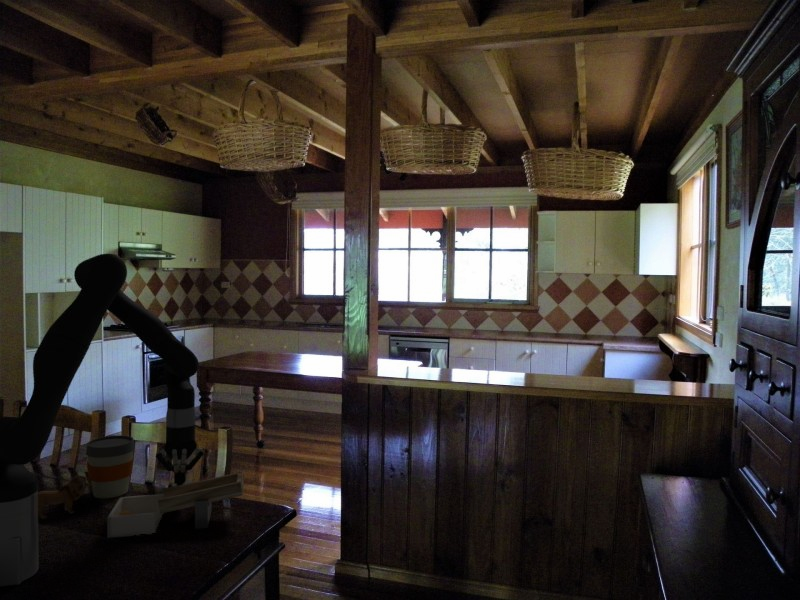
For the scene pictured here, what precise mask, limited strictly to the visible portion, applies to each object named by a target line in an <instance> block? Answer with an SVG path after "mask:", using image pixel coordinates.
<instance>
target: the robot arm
mask: <svg viewBox="0 0 800 600" xmlns="http://www.w3.org/2000/svg"><path fill="white" fill-rule="evenodd" d="M73 273H74V275H73V277H74V280H75V283H76V285H77V286H78V287H79V288H80V290H79V292H78V294H77V295H76V296H75V299H74V300H73V301H72V302H71V303H70V305H69V306H67V308H65V310H64V311H63V312H62V313H61V314H60V315H59V316H58V318H56V320H55V321H54V322H53V323H52V324H51V325H50V327H49V328H48V330H47V331H46V333H45V334H44V336H43V338H42V339H41V342H40V343H39V345H38V347H37V348H36V350H35V353H34V356H33V360H32V374H33V375H32V377H33V389H32V393H31V396H30V399H29V401H28V403H27V405H26V407H25V409H24V410H23V412H22V414H21V415H20V417H17V416H0V587H8V586H17V585H21V584H22V582H24V581H26V580H28V579H30V578H32V577H33V576H35V574H36V573H38V571H39V568H40V567H39V565H40V564H39V515H38V492H39V480H38V477H37V475H35V474H34V473H33V472H31V471H30V469H27V467H26V466H25V465H28V464H29V463H31V462H33V461H35V460H36V459H37V458H38V457H39V456H40V454H41V453H42V452H43V450H44V448H45V447H46V445H47V442H48V441H49V438H50V435H51V433H52V429H53V427H54V425H55V423H56V420H57V418H58V417H57V416H58V414H59V412H60V409H61V407H62V403H63V401H64V399H65V397H66V395H67V393H68V390H69V388H70V386H71V384H72V382H73V379H74V377H75V375H76V374H77V372H78V370H79V368H80V367H81V365H82V363H83V360H84V358H85V357H86V355H87V352H88V351H89V349H90V346H91V344H92V342H93V340H94V338H95V336H96V334H97V331H98V330H99V327H100V325H101V323H102V321H103V319H104V317H105V315H106V312H107V311H108V312H110V313H111V314H112V315H113V316H115V317H116V318H117V319H118V320H119V321H121V322H122V323H123V324H124V325H125V326H126V327H127V328H128V329H129V330H131V332H132V333H134V334H135V335H136V337H137V338H138V339H139V340H140V341H141V342H142V343H143V345H144V346H146V347H147V348H148V350H149V351H150V352H151V353H152V354H154V355H156V356H157V357H159V358H160V359H161V360H162V361H163V362H164V364H163V365H164V366H163V369H164V378H165V385H166V388H167V396H166V397H167V401H166V403H167V404H166V405H167V406H166V407H167V408H166V416H165V417H166V418H165V444H164V446H163V448H162V449H161V450H158V451H157V453H156V454H155V457H156V459H157V460H158V461H159V462H160V463H161V465H162V466H163V467H164V468H165V469H166V470H167V472H173V478H174V479H173V484H177V486H178V485H183V483H185V482H186V481H187V471H191V470H192V469H193V468H194V467H195V465H196V464H197V463H198V462H199V461H200V459H201V458H202V457H203V456H204V454H205V449H203V448H200V447H198V444H197V442H196V421H197V418H196V407H195V405H196V403H195V400H196V397H195V396H196V395H195V393H196V391H195V388H194V386H193V385H192V384H191V377H193V376H194V375H196V373H197V372H198V370H199V367H200V364H199V363H200V362H199V360H198V357H197V356H196V354H195V353H194V352H193V351H192V350H191V349H189V347H188V346H186V345H185V343H183V342H182V341H180V340H179V339H178V338H177V337H176V336H175V335H174V333H173V332H172V331H171V330H170V329H169V328H168V326H167V325H166V324H165V323H164V322H163V321H162V320H161V319H160V318H159V317H158V316H157V315H156V314H154V313H153V312H151V311H150V310H148V309H147V308H145V307H143V306H141V305H140V304H139V303H137V302H136V301H134V300H133V299H131V298H130V297H129V296H128V295H127V294H126V293H124V291H122V288H123V286H124V285H125V282H126V280H127V278H128V277H127V276H128V268H127V265H126V263H125V261H124V259H122V257H121V256H119V255H117V254H114V253H102V254H97V255H95V256H92V257H90V258H88V259H87V258H86V259H85V260H83V261H81V262H80V263H79V264H77V265H76V267H75V269H74V272H73ZM193 453H194V457H193V458H192V459H191V460H190V462H189V463H188V459H189V458H190V457H191V455H193ZM167 455H168V457H169V458H170V459H171V460H172V462H171V460H170V459H168V457H167ZM187 463H188V464H187Z"/></svg>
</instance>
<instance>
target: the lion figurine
mask: <svg viewBox="0 0 800 600" xmlns="http://www.w3.org/2000/svg"><path fill="white" fill-rule="evenodd" d="M87 485H88V484H87V477H86V476H84V475H80V474H79V475H76V476H74V477H72V478H71V480H70V481H68V482H67V483H66V484H64V485H63V486H62V487H61V488H59V489H57V490H42V491H38V517H40V519H42V520H46V519H47V518H48V515H44V514H43V511H44V508H45V505H46V504H50V505H60V504H63V503H64V508H63V509H64V510H65V511H67V512H68V514H72V513H73V514H75V511H74V510H72V508H73V502H74V501H77V500H79V499H80V498H81V496H82V495H83V494H84V493H85V492H86V489H87Z"/></svg>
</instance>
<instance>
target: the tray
mask: <svg viewBox="0 0 800 600" xmlns="http://www.w3.org/2000/svg"><path fill="white" fill-rule="evenodd" d="M161 498H164V493H160V494H159V493H158V494H147V495H144V494H143V495H134V496H133V495H131V496H119V499H118V500H117V502H116V504H115V505H114V507H113V508H112V510H111V511H110V513H109V515H108V516H107V519H106V520H107V521H106V523H107V531H106V532H107V537H106V538H107V539H110V538H111V539H113V538H122V537H123V538H124V537H125V538H126V537H132V536H133V537H134V535H136V536H141V535H140V534H147V535H153V534H152V533H155V534H156V532H157V530H156V529H158V528H157V527H159V525H160V523H159V522H161V521H162V518H163V516H162V515H164V513H161V514H160V510H159V504H158V499H161ZM124 510H128V511H130V512H131V513H132V514H129V515H119V514H120V513H121V512H122V511H124ZM160 520H161V521H160ZM158 524H159V525H158Z"/></svg>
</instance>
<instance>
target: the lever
mask: <svg viewBox="0 0 800 600" xmlns="http://www.w3.org/2000/svg"><path fill="white" fill-rule="evenodd" d="M243 477H244V476H243V472H242V471H240V472H239V471H238V472H235V473H230V474H226V475H220V476H217V477H211V478H207V479H202V480H197V481H192V480H185V483H183V485H178V486H177V484H175V483H173V484H171V486H170V487H165V488H163V489H162V492H163V493H162V494H164V498H161V499H158V504H159V510H160V514H161V513H163V514H165V513H169V512H174V511H179V510H183V509H187V508H191V507H195V500H203V499H208V503H210V502H212V503H214V502H218V501H222V500H227V499H228V500H229V499H232V498H237V497H241V496H243V494H244V487H245V486H244V478H243Z"/></svg>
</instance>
